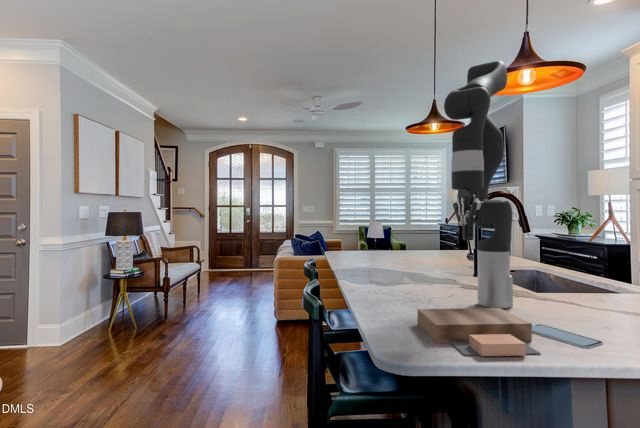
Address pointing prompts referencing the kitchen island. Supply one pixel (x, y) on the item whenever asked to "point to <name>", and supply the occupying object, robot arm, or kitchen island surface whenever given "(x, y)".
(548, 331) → the smartphone
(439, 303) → the kitchen island surface
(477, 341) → the terracotta tile
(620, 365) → the kitchen island surface
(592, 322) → the kitchen island surface
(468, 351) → the rubber mat
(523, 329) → the block
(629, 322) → the kitchen island surface
